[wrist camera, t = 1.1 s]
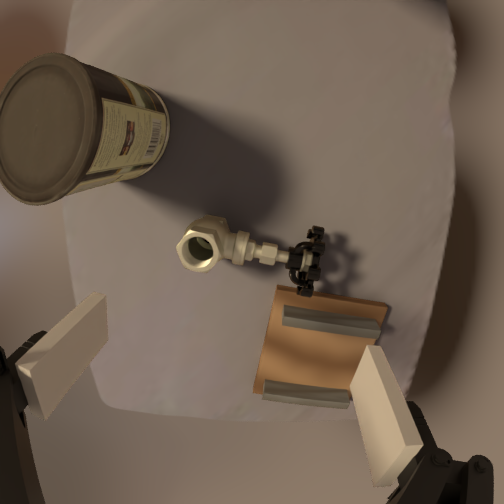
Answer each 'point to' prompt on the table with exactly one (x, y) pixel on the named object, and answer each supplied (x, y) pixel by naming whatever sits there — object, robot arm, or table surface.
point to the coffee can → (75, 129)
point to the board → (315, 347)
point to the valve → (249, 251)
